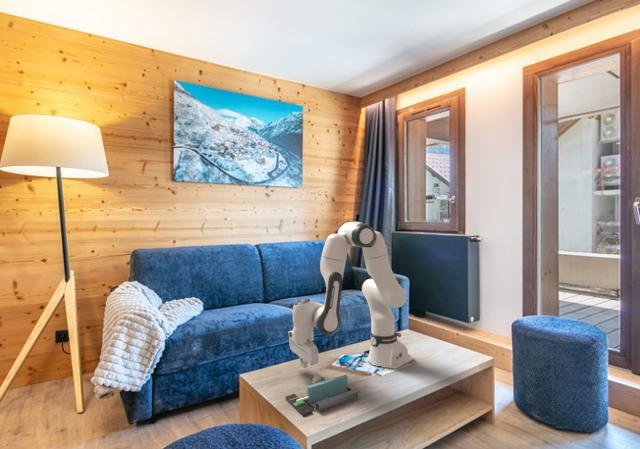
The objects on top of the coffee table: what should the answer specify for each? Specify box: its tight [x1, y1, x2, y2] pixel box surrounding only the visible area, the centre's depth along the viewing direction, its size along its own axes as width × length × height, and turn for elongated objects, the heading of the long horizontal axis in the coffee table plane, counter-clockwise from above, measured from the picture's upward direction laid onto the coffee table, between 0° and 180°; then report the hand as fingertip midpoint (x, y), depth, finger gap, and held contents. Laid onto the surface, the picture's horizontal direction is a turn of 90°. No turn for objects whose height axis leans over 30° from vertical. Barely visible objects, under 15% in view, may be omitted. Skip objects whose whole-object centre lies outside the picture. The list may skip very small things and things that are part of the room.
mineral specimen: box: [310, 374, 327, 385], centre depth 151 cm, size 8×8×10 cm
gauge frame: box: [285, 385, 359, 417], centre depth 143 cm, size 25×15×3 cm, turn 122°
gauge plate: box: [296, 374, 349, 404], centre depth 144 cm, size 23×2×6 cm, turn 122°
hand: (304, 366), depth 163 cm, fingers closed
